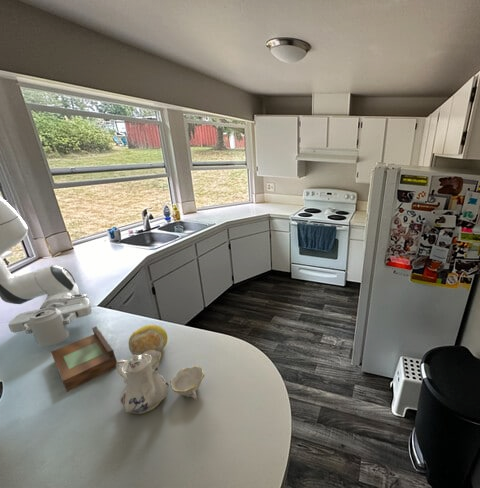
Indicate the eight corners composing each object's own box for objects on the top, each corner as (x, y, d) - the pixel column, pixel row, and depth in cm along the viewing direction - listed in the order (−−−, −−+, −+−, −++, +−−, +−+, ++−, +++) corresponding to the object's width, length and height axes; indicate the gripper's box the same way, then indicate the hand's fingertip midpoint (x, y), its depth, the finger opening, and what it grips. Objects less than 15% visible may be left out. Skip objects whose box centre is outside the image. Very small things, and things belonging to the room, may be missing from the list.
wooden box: (67, 391, 72) (59, 374, 70) (54, 361, 82) (47, 345, 80) (118, 365, 81) (112, 349, 79) (101, 341, 91) (96, 326, 89)
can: (48, 335, 89) (37, 307, 85) (74, 332, 91) (64, 304, 87) (33, 351, 82) (19, 320, 78) (61, 346, 85) (50, 317, 81)
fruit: (130, 351, 87) (124, 328, 84) (166, 337, 94) (161, 315, 90) (134, 369, 80) (127, 344, 77) (172, 353, 87) (167, 330, 83)
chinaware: (216, 385, 77) (214, 338, 73) (171, 436, 62) (165, 380, 58) (145, 364, 84) (140, 320, 80) (88, 404, 68) (78, 352, 64)
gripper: (13, 308, 88) (-3, 330, 77) (91, 292, 99) (85, 310, 89) (20, 323, 90) (4, 346, 79) (95, 306, 101) (90, 324, 91)
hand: (48, 327), depth 84 cm, fingers closed on can, 7 cm apart
